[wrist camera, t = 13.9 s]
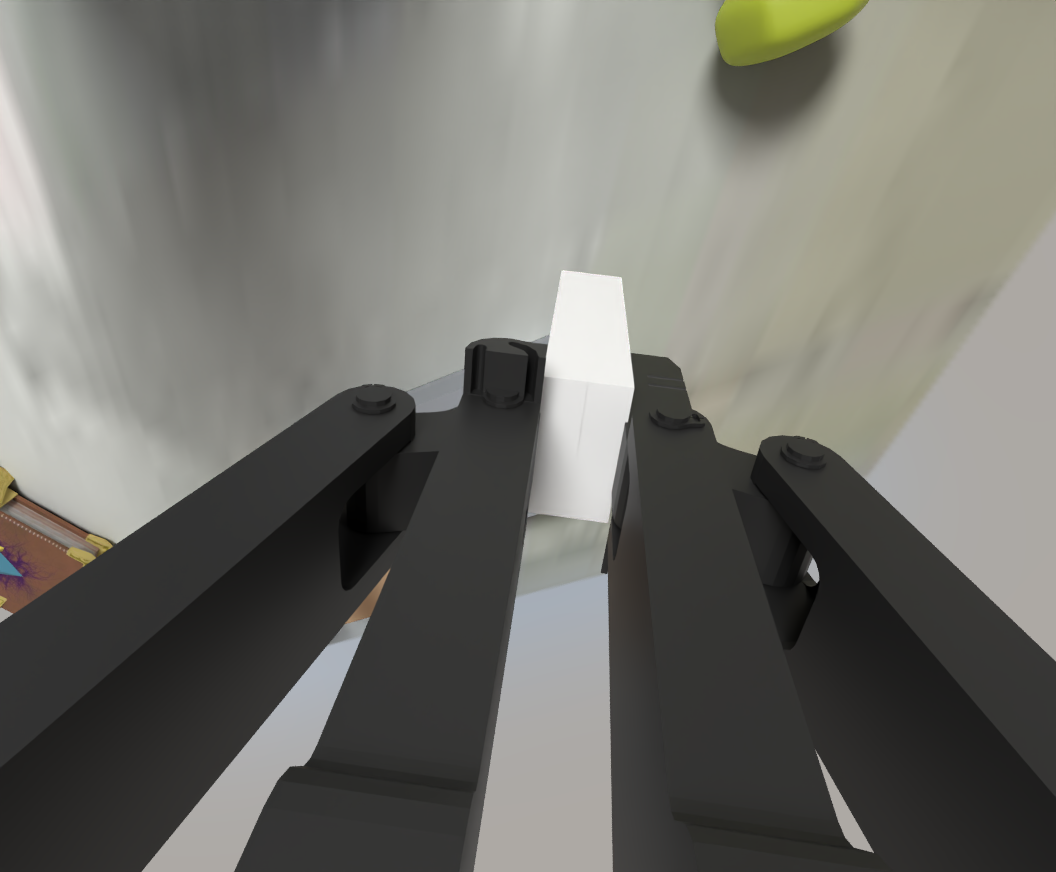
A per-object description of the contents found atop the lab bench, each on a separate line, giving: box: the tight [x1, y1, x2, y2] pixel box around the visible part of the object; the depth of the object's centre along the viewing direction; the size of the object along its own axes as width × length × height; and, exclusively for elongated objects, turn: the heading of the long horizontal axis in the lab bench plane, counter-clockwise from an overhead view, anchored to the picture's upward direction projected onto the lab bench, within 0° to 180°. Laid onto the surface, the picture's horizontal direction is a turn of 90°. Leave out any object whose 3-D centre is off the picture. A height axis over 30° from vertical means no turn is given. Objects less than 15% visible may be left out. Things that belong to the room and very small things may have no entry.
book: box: [0, 467, 113, 614], centre depth 62 cm, size 16×25×5 cm, turn 53°
